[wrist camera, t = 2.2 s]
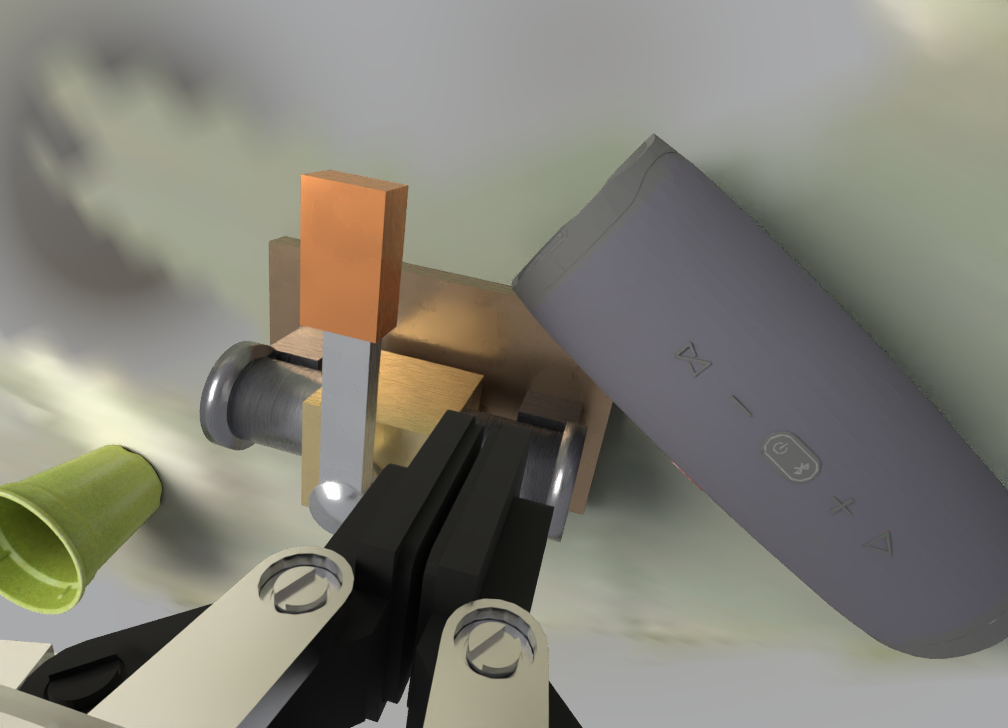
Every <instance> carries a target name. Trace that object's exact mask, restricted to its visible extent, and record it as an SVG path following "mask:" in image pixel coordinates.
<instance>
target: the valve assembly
mask: <svg viewBox="0 0 1008 728" xmlns="http://www.w3.org/2000/svg"><path fill="white" fill-rule="evenodd" d="M300 242H301V240H298V239H294V238H289V237H285V236H284V237H281V238H278V239H275V240H271V241H269V292H270V346H268V345H264V344H260V343H256V342H252V341H243V342H239V343H237V344H235V345H233V346H232V347H230V348H229V349H228V350H227V351H225V352H224V353H223V354H222V356H221V357H220V358H219V359H218V361H217V362H216V363H215V365H214V366H213V368H212V370H211V372H210V374H209V376H208V378H207V380H206V383H205V386H204V389H203V393H202V397H201V403H200V422H201V427H202V430H203V433H204V435H205V436H206V438H207V439H208V440H209V441H210V442H212V443H213V444H216V445H219V446H223V447H226V448H230V449H233V450H244V449H246V448H249V447H250V446H252V445H253V444H255V443H257V444H260V445H264V446H267V447H271V448H274V449H278V450H282V451H285V452H289V453H292V454H296V455H299V456H302V497H301V505H303V506H306V507H309V496H310V494H311V492H312V491H313V489H314V488H315V487H316V486H317V485H318V484H319V477H320V438H321V400H322V361H323V330H319V329H315V328H311V327H306V326H302V325H300ZM612 403H613V401H612V400H611V399H610V398H609V397H608V396H607V395H606V394H605V393H604V392H603V391H602V390H601V389H600V388H599V387H598V386H597V384H596V383H595V382H594V381H593V380H592V379H591V378H590V377H589V376H588V375H587V374H586V373H585V372H584V371H583V370H582V369H581V368H580V367H579V366H578V365H577V363H576V362H575V361H574V360H573V359H572V358H571V357H570V356H569V355H568V354H567V353H566V352H565V351H564V350H563V349H562V348H561V347H560V346H559V345H558V344H557V342H556V341H555V340H554V339H553V338H552V337H551V336H550V335H549V334H548V333H547V332H546V330H545V329H544V328H543V327H542V326H541V325H540V323H539V322H538V321H537V320H536V319H535V318H534V316H533V315H532V314H531V313H530V312H529V310H528V309H527V308H526V306H525V305H524V304H523V302H522V301H521V300H520V298H519V297H518V296H517V295H516V293H515V292H514V291H513V289H512V286H508V285H503V284H499V283H494V282H489V281H485V280H480V279H476V278H471V277H467V276H462V275H458V274H453V273H448V272H444V271H439V270H435V269H430V268H426V267H421V266H417V265H412V264H408V263H403V262H402V269H401V281H400V294H399V306H398V318H397V327H395V328H394V329H393V330H392V331H390V332H389V333H388V334H387V335H385V336H384V337H383V338H382V343H381V357H380V371H379V385H378V399H377V413H376V427H375V441H374V455H373V469H372V481H373V482H374V481H375V479H376V478H377V477H378V475H379V474H380V473H381V471H382V470H383V469H384V468H385V467H386V466H387V465H388V464H390V463H392V464H396V465H400V466H403V467H408V466H409V465H410V463H411V462H412V460H413V459H414V457H415V456H416V454H417V453H418V451H419V450H420V449H421V447H422V446H423V444H424V443H425V441H426V440H427V438H428V437H429V435H430V434H431V432H432V431H433V430H434V428H435V427H436V425H437V424H438V422H439V421H440V419H441V418H442V416H443V415H444V414H445V412H446V411H447V410H453V411H457V412H461V413H465V414H469V415H473V416H476V424H479V425H483V426H484V436H483V442H482V447H483V445H484V443H485V441H486V439H487V437H488V435H489V433H490V431H491V429H492V428H495V429H499V430H501V429H502V427H503V425H504V424H509V425H513V426H517V427H521V428H525V429H529V430H532V436H531V442H530V447H529V451H528V456H527V461H526V466H525V471H524V476H523V481H522V486H521V491H520V496H519V497H520V498H524V499H527V500H531V501H535V502H539V503H542V504H546V505H550V506H554V512H553V516H552V520H551V524H550V529H549V533H548V537H547V539H550V540H554V541H557V542H560V541H561V538H562V534H563V530H564V526H565V522H566V518H567V514H568V511H572V512H576V513H579V514H583V513H584V510H585V506H586V502H587V498H588V494H589V491H590V487H591V483H592V479H593V475H594V472H595V468H596V464H597V460H598V456H599V453H600V449H601V445H602V441H603V437H604V434H605V430H606V426H607V422H608V418H609V415H610V411H611V407H612ZM481 449H482V448H481Z"/></svg>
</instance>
